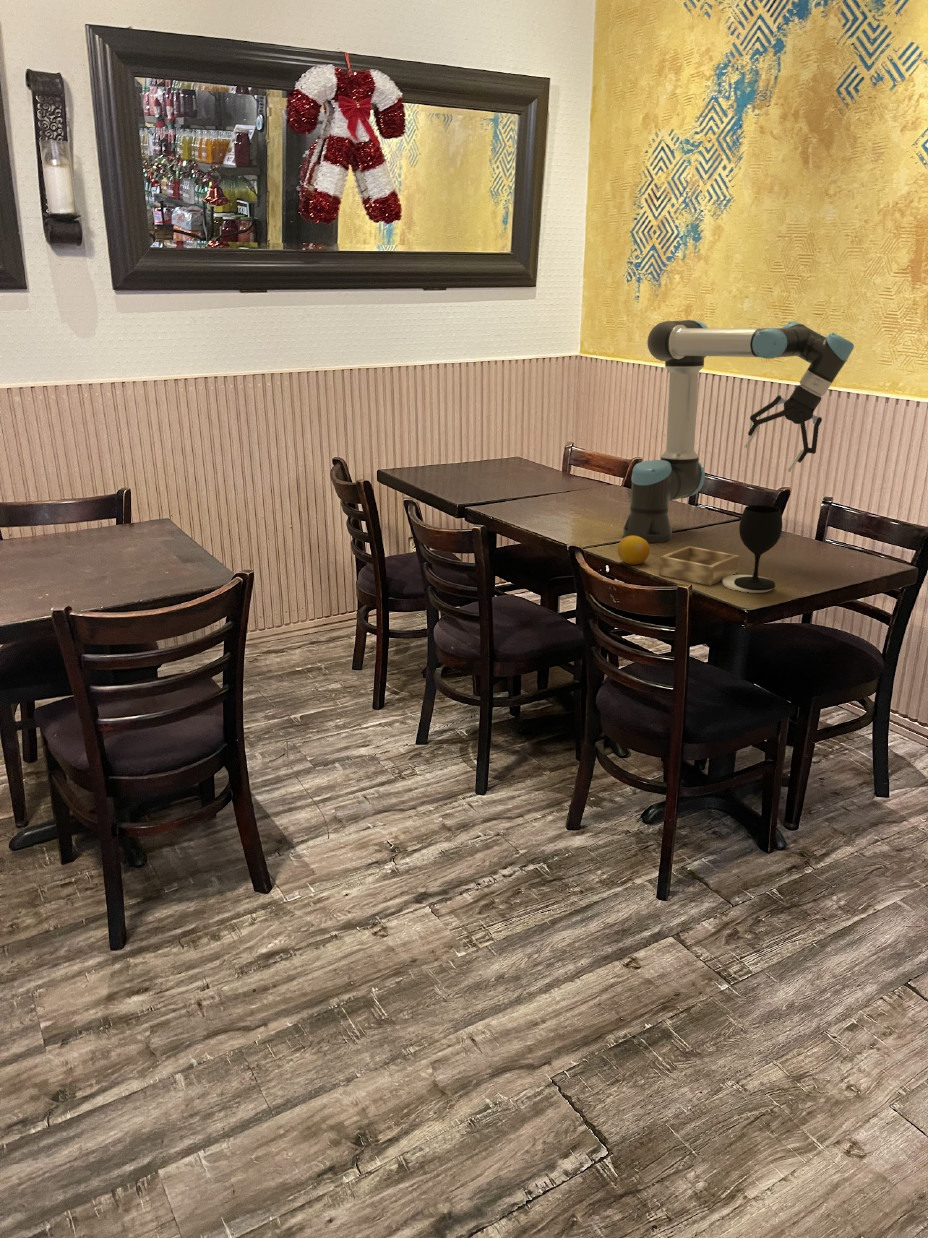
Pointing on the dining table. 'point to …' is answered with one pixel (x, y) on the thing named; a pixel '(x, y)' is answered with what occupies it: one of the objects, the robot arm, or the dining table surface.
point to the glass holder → (698, 565)
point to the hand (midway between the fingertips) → (767, 458)
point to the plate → (730, 584)
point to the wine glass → (759, 540)
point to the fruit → (633, 550)
